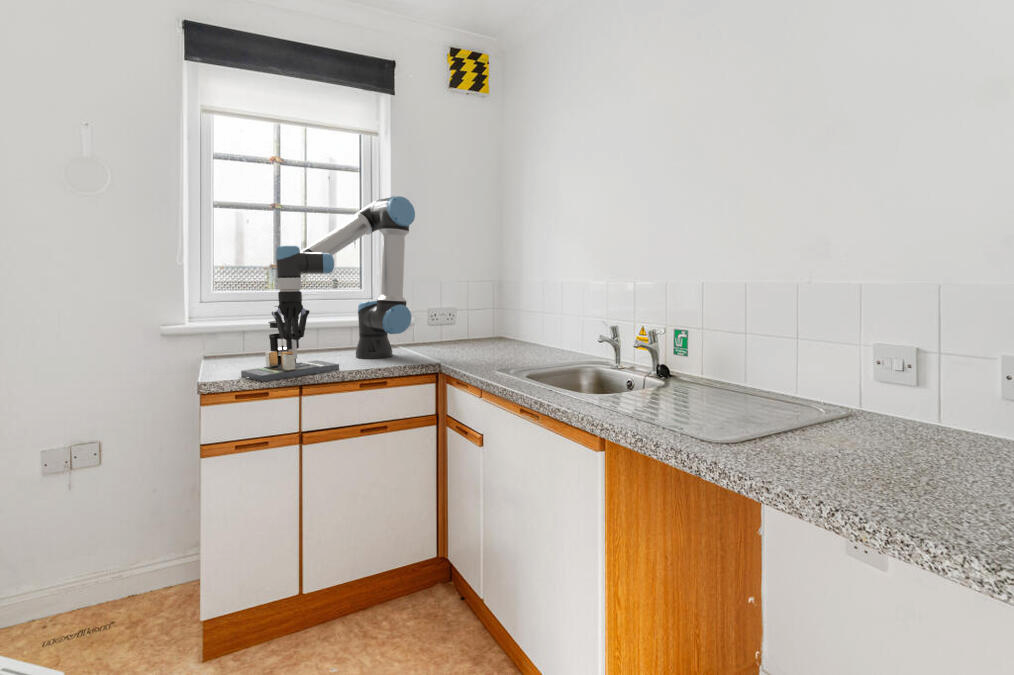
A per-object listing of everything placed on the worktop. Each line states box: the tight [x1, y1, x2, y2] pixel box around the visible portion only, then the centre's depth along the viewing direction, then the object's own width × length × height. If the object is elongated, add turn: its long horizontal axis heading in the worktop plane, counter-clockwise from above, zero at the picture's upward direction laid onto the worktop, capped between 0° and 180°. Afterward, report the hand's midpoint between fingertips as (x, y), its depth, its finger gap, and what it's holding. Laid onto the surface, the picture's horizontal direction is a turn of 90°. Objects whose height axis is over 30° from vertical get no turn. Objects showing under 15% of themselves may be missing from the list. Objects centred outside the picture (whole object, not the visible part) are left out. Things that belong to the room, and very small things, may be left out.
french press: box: [267, 304, 297, 365], centre depth 199 cm, size 12×9×23 cm
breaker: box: [280, 351, 293, 367], centre depth 183 cm, size 3×2×5 cm
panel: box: [240, 350, 340, 383], centre depth 184 cm, size 28×15×8 cm, turn 140°
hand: (293, 358), depth 184 cm, fingers closed
